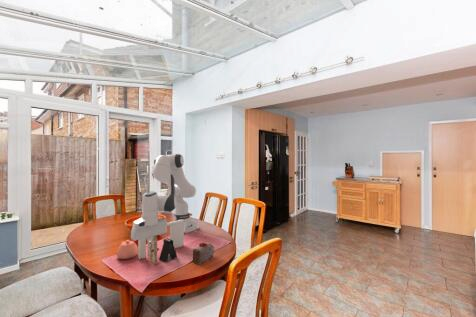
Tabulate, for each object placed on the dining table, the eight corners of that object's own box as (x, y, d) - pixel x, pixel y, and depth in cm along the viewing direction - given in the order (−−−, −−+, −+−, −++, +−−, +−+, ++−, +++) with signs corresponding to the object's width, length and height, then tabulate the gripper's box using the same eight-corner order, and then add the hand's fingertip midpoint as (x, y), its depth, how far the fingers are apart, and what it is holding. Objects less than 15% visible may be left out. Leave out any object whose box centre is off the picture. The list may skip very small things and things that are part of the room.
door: (145, 257, 137) (145, 231, 137) (152, 255, 139) (152, 230, 139) (152, 265, 126) (152, 238, 126) (159, 263, 129) (159, 236, 129)
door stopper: (164, 262, 130) (164, 242, 130) (158, 259, 134) (158, 240, 134) (177, 257, 137) (177, 238, 137) (171, 254, 141) (171, 236, 141)
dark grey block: (205, 253, 143) (205, 238, 143) (215, 256, 139) (215, 240, 139) (191, 262, 131) (191, 245, 131) (201, 265, 127) (201, 248, 127)
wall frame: (182, 244, 157) (182, 219, 157) (183, 245, 156) (183, 219, 155) (138, 258, 135) (138, 229, 135) (139, 259, 134) (139, 229, 134)
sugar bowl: (123, 263, 130) (123, 245, 129) (110, 257, 137) (110, 241, 137) (142, 255, 140) (142, 239, 140) (129, 250, 147) (129, 235, 147)
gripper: (164, 216, 137) (164, 238, 137) (129, 222, 123) (129, 247, 123) (169, 218, 132) (169, 241, 132) (133, 225, 118) (133, 250, 118)
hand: (149, 244), depth 127 cm, fingers closed
